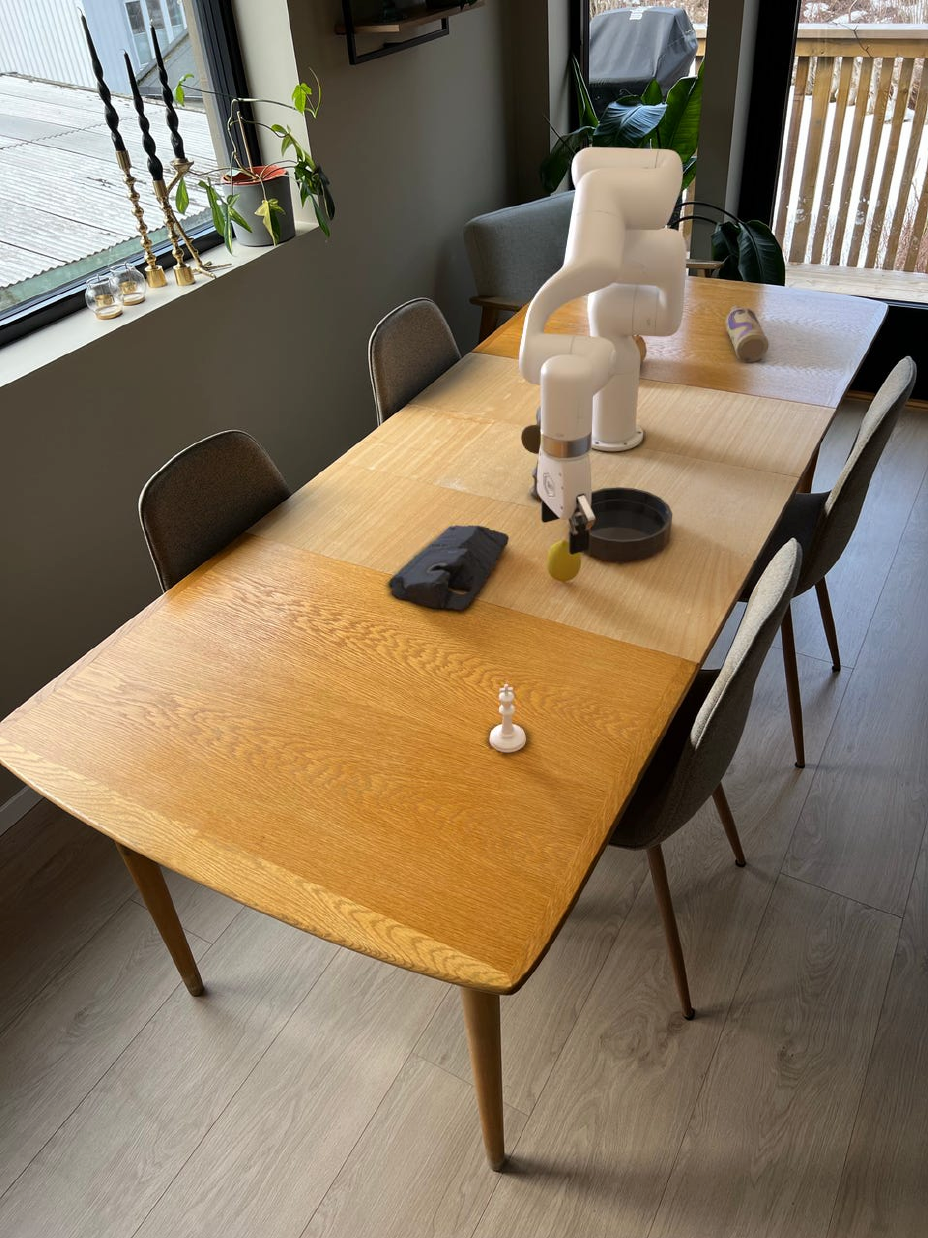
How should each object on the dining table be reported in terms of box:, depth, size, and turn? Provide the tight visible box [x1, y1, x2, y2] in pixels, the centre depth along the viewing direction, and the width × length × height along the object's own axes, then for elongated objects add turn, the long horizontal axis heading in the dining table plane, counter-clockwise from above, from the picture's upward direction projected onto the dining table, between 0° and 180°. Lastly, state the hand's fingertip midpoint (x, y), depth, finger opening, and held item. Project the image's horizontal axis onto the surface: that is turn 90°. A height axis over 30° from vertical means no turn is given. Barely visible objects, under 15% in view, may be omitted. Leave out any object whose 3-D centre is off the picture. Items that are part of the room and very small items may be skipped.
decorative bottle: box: [724, 304, 770, 363], centre depth 229 cm, size 26×8×7 cm, turn 176°
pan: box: [569, 486, 673, 563], centre depth 168 cm, size 17×17×4 cm
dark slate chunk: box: [388, 524, 510, 611], centre depth 162 cm, size 15×22×5 cm
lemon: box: [546, 539, 582, 583], centre depth 157 cm, size 6×6×8 cm
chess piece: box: [489, 683, 527, 753], centre depth 129 cm, size 5×5×10 cm
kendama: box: [520, 405, 543, 501], centre depth 175 cm, size 6×10×20 cm, turn 157°
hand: (564, 535), depth 154 cm, fingers open, 9 cm apart
